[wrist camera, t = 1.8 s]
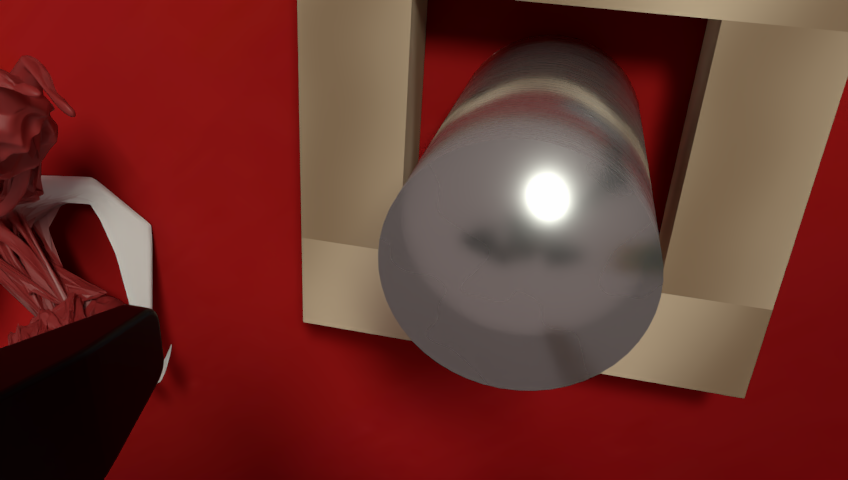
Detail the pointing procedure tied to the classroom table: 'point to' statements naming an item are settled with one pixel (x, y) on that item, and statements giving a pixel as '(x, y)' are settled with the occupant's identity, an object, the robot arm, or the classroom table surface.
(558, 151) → the shiny steel cylinder
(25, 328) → the figurine
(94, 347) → the robot arm
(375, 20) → the holder
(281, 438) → the classroom table surface
